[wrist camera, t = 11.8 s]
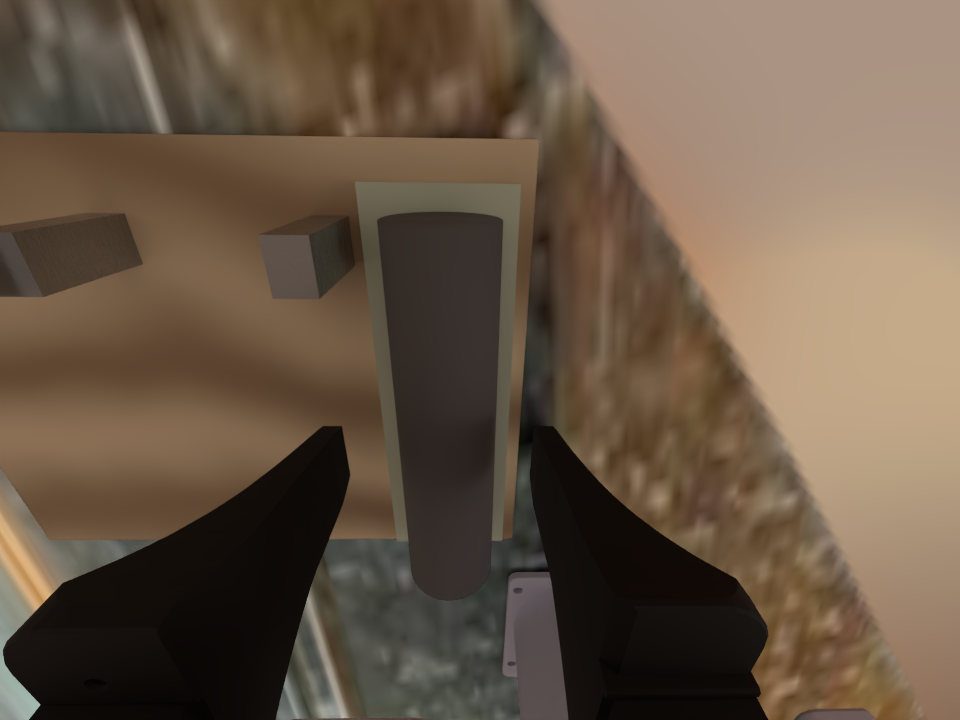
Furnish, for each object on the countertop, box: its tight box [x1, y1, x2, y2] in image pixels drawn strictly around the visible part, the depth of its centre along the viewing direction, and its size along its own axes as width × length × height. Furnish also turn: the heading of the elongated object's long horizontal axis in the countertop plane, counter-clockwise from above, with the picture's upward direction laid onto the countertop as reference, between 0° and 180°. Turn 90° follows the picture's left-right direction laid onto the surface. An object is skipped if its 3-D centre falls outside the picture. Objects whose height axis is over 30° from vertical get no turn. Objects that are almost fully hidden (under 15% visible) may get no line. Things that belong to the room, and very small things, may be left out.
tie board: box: [0, 132, 539, 541], centre depth 14 cm, size 17×22×4 cm
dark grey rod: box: [377, 212, 503, 600], centre depth 14 cm, size 14×3×3 cm, turn 179°
